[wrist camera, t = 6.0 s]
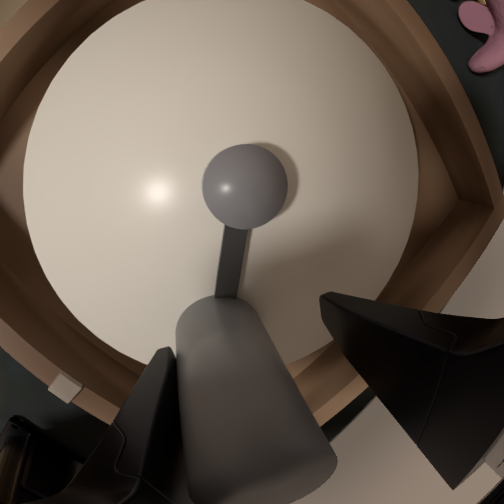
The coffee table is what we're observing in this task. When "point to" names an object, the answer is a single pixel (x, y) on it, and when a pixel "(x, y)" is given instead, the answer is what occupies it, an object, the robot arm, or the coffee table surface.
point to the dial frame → (395, 292)
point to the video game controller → (485, 21)
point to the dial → (223, 214)
